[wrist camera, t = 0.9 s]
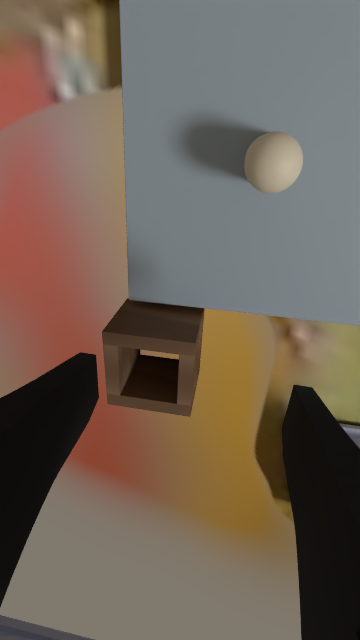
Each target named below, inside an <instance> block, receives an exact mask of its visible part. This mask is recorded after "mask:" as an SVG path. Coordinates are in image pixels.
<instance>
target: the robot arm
mask: <svg viewBox="0 0 360 640" xmlns="http://www.w3.org/2000/svg"><path fill="white" fill-rule="evenodd" d="M98 398H99V394H98V379H97V363H96V355H94V354H87V353H79V354H77V355H75V356H74V357H72V358H70V359H68V360H67V361H65V362H64V363H62V364H60V365H59V366H57V367H55V368H54V369H52V370H50V371H49V372H47V373H45V374H44V375H42V376H40V377H39V378H37V379H36V380H33V381H32V382H30V383H28V384H26V385H24V386H23V387H21V388H19V389H17V390H15V391H13V392H11V393H10V394H8V395H6V396H4V397H1V398H0V606H1V604H2V601H3V599H4V596H5V594H6V591H7V588H8V586H9V583H10V580H11V578H12V575H13V573H14V570H15V568H16V566H17V563H18V561H19V558H20V556H21V553H22V551H23V549H24V546H25V544H26V541H27V539H28V537H29V534H30V532H31V530H32V527H33V525H34V523H35V521H36V518H37V516H38V514H39V512H40V509H41V507H42V505H43V503H44V501H45V499H46V496H47V494H48V492H49V490H50V488H51V486H52V484H53V482H54V480H55V478H56V476H57V474H58V473H59V471H60V469H61V467H62V466H63V464H64V462H65V461H66V459H67V458H68V456H69V454H70V452H71V451H72V449H73V447H74V446H75V444H76V442H77V441H78V439H79V437H80V435H81V434H82V432H83V430H84V429H85V427H86V425H87V423H88V421H89V420H90V417H91V415H92V413H93V410H94V408H95V406H96V403H97V401H98ZM282 443H283V458H284V464H285V470H286V476H287V482H288V488H289V494H290V500H291V506H292V512H293V517H294V525H295V533H296V544H297V559H298V575H299V592H300V613H301V636H302V640H360V426H354V425H347V424H340V423H338V422H337V420H336V419H335V418H334V416H333V415H332V414H331V412H330V411H329V410H328V408H327V407H326V406H325V404H324V403H323V402H322V400H321V399H320V397H319V396H318V395H317V393H316V392H315V391H314V389H313V388H312V387H306V386H299V385H294V386H293V390H292V393H291V397H290V401H289V404H288V408H287V412H286V415H285V419H284V423H283V426H282ZM0 640H94V639H90V638H86V637H82V636H78V635H74V634H71V633H67V632H63V631H59V630H55V629H51V628H48V627H44V626H40V625H36V624H32V623H28V622H24V621H21V620H17V619H13V618H9V617H5V616H1V615H0Z"/></svg>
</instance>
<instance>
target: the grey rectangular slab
mask: <svg viewBox="0 0 360 640" xmlns="http://www.w3.org/2000/svg"><path fill="white" fill-rule="evenodd" d="M119 2H120V33H121V64H122V96H123V127H124V158H125V188H126V218H127V219H126V221H127V252H128V284H129V300H135V301H144V302H153V303H162V304H171V305H180V306H189V307H198V308H208V309H216V310H225V311H235V312H243V313H253V314H262V315H270V316H279V317H288V318H297V319H306V320H315V321H324V322H333V323H342V324H351V325H360V0H119Z"/></svg>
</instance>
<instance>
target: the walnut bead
mask: <svg viewBox="0 0 360 640" xmlns="http://www.w3.org/2000/svg"><path fill="white" fill-rule="evenodd" d="M203 319H204V308H198V307H189V306H180V305H171V304H162V303H153V302H144V301H135V300H129V299H127V300H126V301H125V303H124V304H123V305H122V306H121V307H120V309H119V310H118V311H117V313H116V314H115V315H114V317H113V318H112V319H111V321H110V322H109V323H108V325H107V326H106V327H105V329H104V330H103V331H102V337H103V349H104V363H105V376H106V389H107V402H108V404H112V405H118V406H125V407H131V408H138V409H145V410H150V411H157V412H164V413H170V414H177V415H183V416H189V417H190V414H191V409H192V404H193V399H194V394H195V389H196V385H197V380H198V375H199V368H200V354H201V343H202V331H203ZM140 349H142V350H150V351H158V352H165V353H173V354H179V360H178V359H170V358H162V357H155V356H148V355H140Z"/></svg>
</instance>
